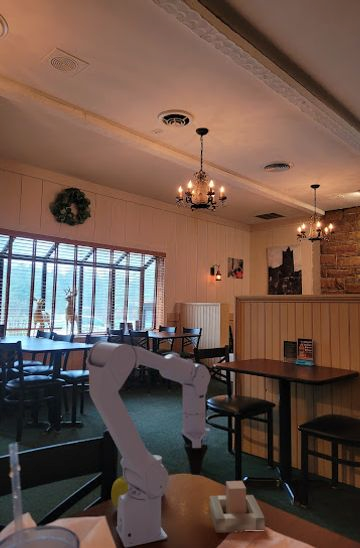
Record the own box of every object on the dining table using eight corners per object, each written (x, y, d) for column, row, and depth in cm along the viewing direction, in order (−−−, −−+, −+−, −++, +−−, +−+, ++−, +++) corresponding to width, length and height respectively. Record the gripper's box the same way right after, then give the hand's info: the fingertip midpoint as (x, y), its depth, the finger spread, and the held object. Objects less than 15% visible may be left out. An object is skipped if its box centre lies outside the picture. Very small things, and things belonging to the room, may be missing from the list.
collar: (216, 532, 92) (216, 518, 92) (209, 508, 103) (209, 495, 103) (264, 531, 92) (264, 517, 93) (253, 507, 103) (253, 495, 104)
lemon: (129, 516, 98) (129, 482, 99) (107, 514, 99) (108, 480, 100) (136, 505, 104) (136, 473, 104) (115, 503, 105) (116, 471, 105)
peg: (246, 523, 96) (245, 488, 96) (229, 524, 95) (229, 488, 96) (242, 514, 100) (242, 480, 100) (225, 515, 99) (225, 481, 100)
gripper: (213, 419, 96) (214, 479, 95) (206, 404, 110) (206, 456, 109) (183, 420, 95) (183, 480, 95) (180, 404, 110) (180, 456, 109)
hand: (194, 467), depth 102 cm, fingers open, 7 cm apart
